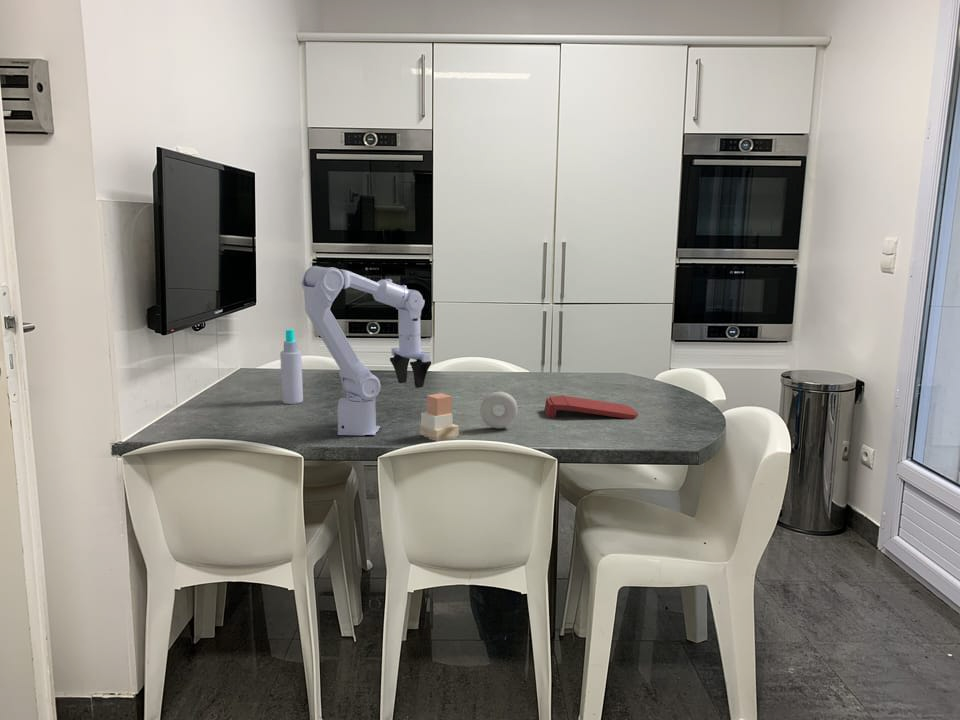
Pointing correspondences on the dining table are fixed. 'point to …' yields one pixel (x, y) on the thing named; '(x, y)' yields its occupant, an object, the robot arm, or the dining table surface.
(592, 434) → the dining table surface
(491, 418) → the donut
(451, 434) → the birch base block
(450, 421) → the cream top block
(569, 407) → the red elongated bent piece
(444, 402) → the terracotta cube
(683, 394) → the dining table surface
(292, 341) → the spray bottle
